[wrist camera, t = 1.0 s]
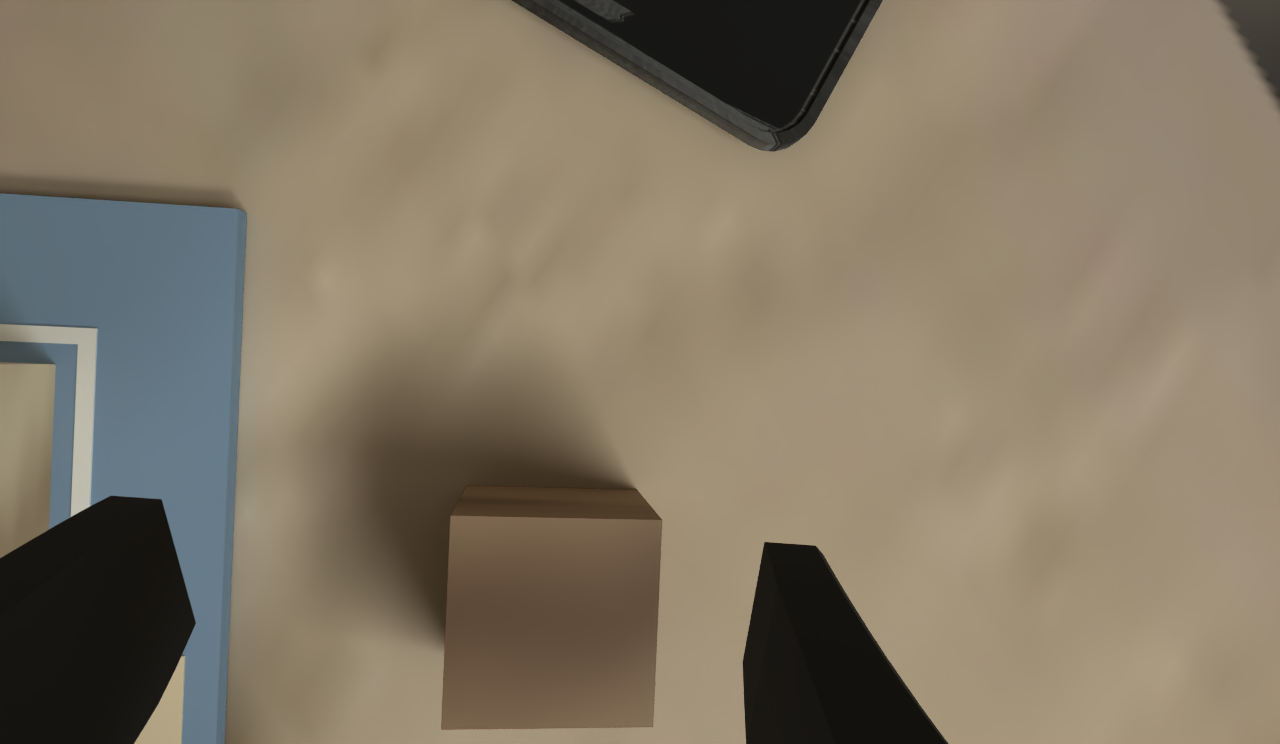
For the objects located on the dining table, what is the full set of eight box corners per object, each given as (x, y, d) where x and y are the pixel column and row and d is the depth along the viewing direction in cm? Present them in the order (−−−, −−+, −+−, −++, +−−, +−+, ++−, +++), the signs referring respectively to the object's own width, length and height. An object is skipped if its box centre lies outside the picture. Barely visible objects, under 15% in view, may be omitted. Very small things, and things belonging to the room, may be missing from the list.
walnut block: (629, 655, 23) (652, 727, 18) (459, 655, 22) (441, 729, 17) (636, 489, 22) (662, 520, 18) (467, 484, 22) (450, 515, 17)
